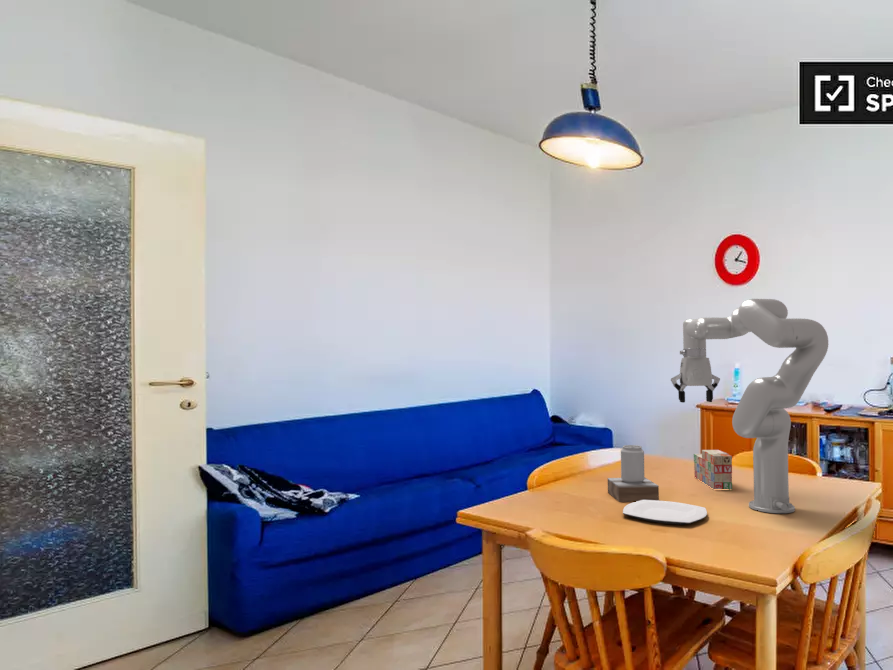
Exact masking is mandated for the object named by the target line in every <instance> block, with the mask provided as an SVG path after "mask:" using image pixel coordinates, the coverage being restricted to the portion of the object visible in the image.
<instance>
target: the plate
mask: <svg viewBox="0 0 893 670" xmlns="http://www.w3.org/2000/svg"><path fill="white" fill-rule="evenodd" d="M622 514H623V515H626V516H630V517H632V518H635V519H639V520H642V521H646V522H653V523H660V524H669V525H679V524H680V525H687V524H691V523H694V522H698V521H701V520H703V519H704V518H706V517H707V515H708V512H707V509H706V507H703V506H700V505H695V504H691V503H690V504H689V503H684V502H678V501H669V500H666V501H665V500H659V501H658V500H640V501H636V502H630V503H628V504H626V505H625V506H624V507H623V509H622ZM680 525H679V526H680Z"/></svg>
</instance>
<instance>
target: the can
mask: <svg viewBox="0 0 893 670" xmlns="http://www.w3.org/2000/svg"><path fill="white" fill-rule="evenodd" d="M644 477H645V451H644V450H643V447H642V446H641V445H636V444H626V445H623V446H622V449H620V478H621V479H622V480H623V481H624V482H626V483H632V484H638V483H642V482H643V481H644V480H645V478H646V477H645V478H644Z"/></svg>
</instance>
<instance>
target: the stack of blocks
mask: <svg viewBox="0 0 893 670" xmlns="http://www.w3.org/2000/svg"><path fill="white" fill-rule="evenodd" d="M693 463H694V464H693V465H694V466H693V468H694V469H693V470H694V478H695V477H696V478H697V479H699V480H700V481H702V482H704V483H705V484H707V485H708V486H710V487H711V488H713V489H732V490H733V480H732V479H733V456H732V455H730V454H729V453H727V452H725V451H722V450H721V449H720V450H719V449H701V453H693ZM696 478H695V479H696ZM699 480H698V481H699ZM700 481H699V482H700ZM702 482H701V483H702ZM705 484H704V485H705ZM707 485H706V486H707ZM708 486H707V487H708ZM710 487H709V488H710ZM711 488H710V489H711ZM713 489H712V490H713Z"/></svg>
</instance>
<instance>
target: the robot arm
mask: <svg viewBox="0 0 893 670" xmlns="http://www.w3.org/2000/svg"><path fill="white" fill-rule="evenodd" d="M788 311H789V310H788V307H787V306H786V305H785V303H784V302H782V301H780V300H778V299H775V298H751V299H747V300H745V301H743V302H742V303H741V304H740V305H739V307H736V308H735V309H734V310H733V311H732V313H731V315H730V316H727V317H698V318H691V319H685V320H684V321H683V323H682V334H683V335H682V336H683V338H682V339H683V341H682V344H683V349H682V350H679V355H681V356H683V357H682V358H681V361H680V367H679V370H680V371H679V374H677V375H675V376H673V377H672V378H670V381H671V384H672V386H673V387H674V388H675V389H676V390H677V391H678V400H679V403H686V392H685V389H686V387H688V386H689V387H698V386H699V387H705V388H706V391H705V401H706V402H708V403H712V402H713V399H714V391H715V389H716V388H717V387H718V386H719V383H720V381H721V378H720V377H718V376H717V375H714V374H712V366H711V361H710V358H709V357H707V340H728V339H734V338H737V337H742V336H745V335H747V334H748V333H752V334H754V335H755V336H756V337H757V338H758V339H760V340H761V341H762V342H764V343H765V344H766V345H768V346H771V347H773V348H778V349H781V348H782V349H784V348H785V349H789V348H794V351H792V353H790V354H789V355H788V356H787V357H786V358H785V359H784V360H783V362H782V363H781V366H780V367H779V369H778V371H777V373H776V374H775V375H773V376H766V377H765V376H763V377H762V376H761V377H759V378H755V379H753V380H752V381H751V382H750V383H749V384H748V385H747V387H746V388H745V390H744V392H743V394H742V396H741V398H740V400H739V402H738V404H737V406H736V408H735V411H734V413H733V415H732V421H731V423H732V428H733V431H734V432H735V433H736V434H737V436H739V437H742V438H745V439H756V440H755V442H754V444H753V449H752V461H753V463H752V465H753V467H752V468H753V500H751V501H748V507H749V508H750V509H752V510H753V511H754V510H755V511H757V510H758V511H757V512H763V513H768V514H769V513H771V514H791V513H794V512H795V511H796V507H795V505H794V504H792V503H791V502H790V496H789V495H790V494H789V493H790V490H789V485H790V484H789V438H790V431H791V426H792V421H791V416H790V414H789V412H788V411H787V410H786V409H790V408H793V407H796V405H797V404H798V403H799V401H800V400H801V398H802V396H803V395H804V393H805V390H806V389H807V387H808V385H809V384H810V382H811V380H812V377H813V376H814V375H815V372H816V371H817V369H818V368H819V366H820V365H821V364H822V363H823V361H824V359H825V357H826V355H827V352H828V349H829V336H828V332H827V330H826V329H825V327H824V326H823V324H821V323H820V322H818V321H816V320H813V319H809V318H787V317H788V314H789V312H788ZM678 380H679V384H678V382H677V381H678Z"/></svg>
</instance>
